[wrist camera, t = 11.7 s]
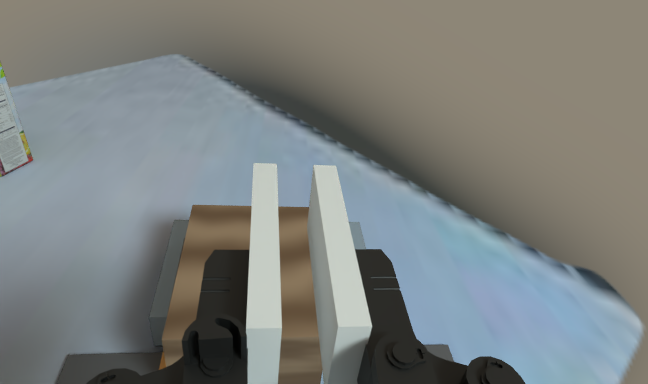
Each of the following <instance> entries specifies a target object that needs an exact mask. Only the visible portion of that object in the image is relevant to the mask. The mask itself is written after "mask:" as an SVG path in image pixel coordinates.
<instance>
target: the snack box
mask: <svg viewBox="0 0 648 384" xmlns="http://www.w3.org/2000/svg"><path fill="white" fill-rule="evenodd" d="M30 161H33V158H32V155H31V152H30V149H29V146H28V143H27V140H26V137H25V134H24V131H23V128H22V125H21V122H20V119H19V116H18V113H17V110H16V107H15V104H14V101H13V98H12V95H11V92H10V89H9V86H8V83H7V80H6V77H5V74H4V71H3V68H2V65H1V62H0V177H1V176H4V175H5V174H7V173H9V172H11V171H13V170H15V169H17V168H19V167H21V166H23V165H25V164H27V163H29V162H30Z"/></svg>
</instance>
